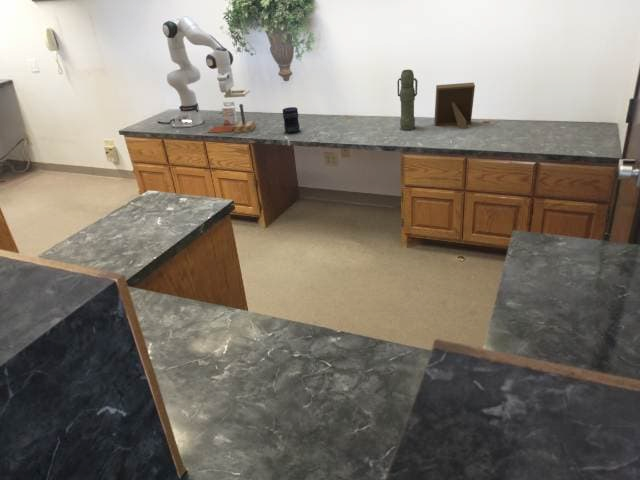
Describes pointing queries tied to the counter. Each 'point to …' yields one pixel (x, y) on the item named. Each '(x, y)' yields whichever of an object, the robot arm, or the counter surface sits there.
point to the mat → (221, 129)
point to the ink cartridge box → (229, 113)
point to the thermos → (407, 99)
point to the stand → (244, 123)
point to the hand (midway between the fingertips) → (228, 96)
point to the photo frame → (454, 104)
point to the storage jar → (291, 120)
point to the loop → (242, 94)
